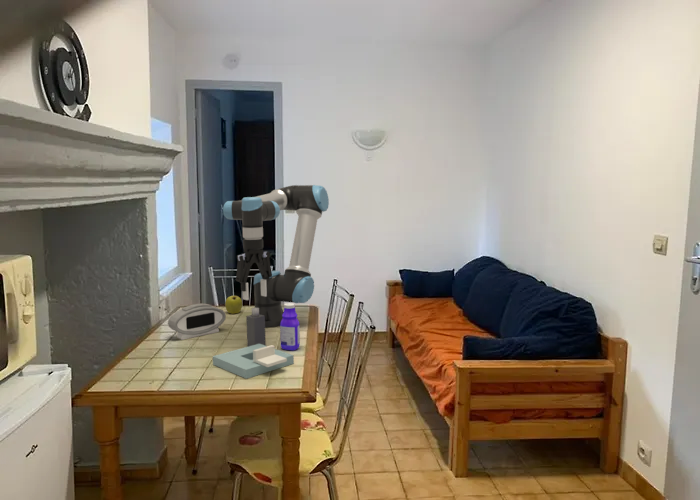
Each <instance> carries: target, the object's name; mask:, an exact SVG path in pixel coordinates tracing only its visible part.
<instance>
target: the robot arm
mask: <svg viewBox="0 0 700 500" xmlns="http://www.w3.org/2000/svg"><path fill="white" fill-rule="evenodd" d="M329 201H330V200H329V195H328V191H327V190H326V188H325V187H324V186H323V185H316V184H313V185H312V184H308V185H306V184H305V185H301V184H300V185H299V184H298V185H297V184H295V185H289V186H285V187H279V188H277V189H276V188H275V189H273V190H271V192H269V193H266V194H261V195H257V196H252V197H251V196H247V197H243V198H242V199H241V200H240V199H239V200H227V201H226V202H225V203H224V204H223V208H222V210H223V213H222V214H223V216H224V218H226V219H227V220H233V221H239V220H240V221H241V222H242V238H243V239H242V247H243V253H241V254H237V255H236V260H237V265H236V275H235V281H236V282H239V283H240V291H241V292H242V300H243V301H244V300H245V301H249V298H250V297H249V293H250V292H249V282H247V281H248V277H249V274H250V271H251V268H252V266H253V264H256V265H257V268H258V271H259V273H256V274H254V277H253V293H254V294H253V295H254V298H253V299H254V308H259V314H260V315H263V316H265V328H275V327H280V323H281V321H282V318H283V317H282V314H283V313H284V309H283V307H282V302H284V303H294V304H305V303H307V302H308V301H309V300H310V299H311V298H312V296H313V294H314V290H315V280H314V278H313V277H312V273H311V272H310V264H311V259H312V252H313V246H314V240H315V236H316V229H317V225H318V224H317V222H318V220H319V219H320V218H322V215H323V213H324V212H326V211H327V210H328V209H329V205H330V203H329ZM281 211H294V212H295V213H296V214H297V215H298V218H297V223H296V230H295V234H294V238H293V239H294V240H293V243H292V249H291V256H290V260H289V264H288V267H287V268H285V269H284V274H282V273H281V271H280V270H272V266H271V261H270V260H271V259H270V255H271V254H270V253H271V252H270V251H264V250H263V249H264V239H263V237H264V228H263V227H264V226H263V224H264V223H263V222H265V221H272V220H276V219H277V218H278V217H279V215H280V212H281Z"/></svg>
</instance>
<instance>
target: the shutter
mask: <svg viewBox="0 0 700 500" xmlns="http://www.w3.org/2000/svg"><path fill="white" fill-rule="evenodd" d="M275 349H276V348H275V345H273V344H271V345H266V347H263V348H259V349H256V350H253V362H255V363H258V364H261V365H263V366H266V367H270V366H273V365H277V364H280V363H283V362H286V361H287V358H284V357H281V356H278V355H276V354H275Z"/></svg>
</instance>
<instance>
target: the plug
mask: <svg viewBox="0 0 700 500" xmlns="http://www.w3.org/2000/svg"><path fill="white" fill-rule="evenodd" d="M245 319H246V341H247V342H246V344H247V346H246V347H248V346H252V345H256V344H262V345H265V346H267V343H266V327H265V316H263V315H260V314H259V308H255V307H252V308H251V314H249V315H246V318H245Z"/></svg>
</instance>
